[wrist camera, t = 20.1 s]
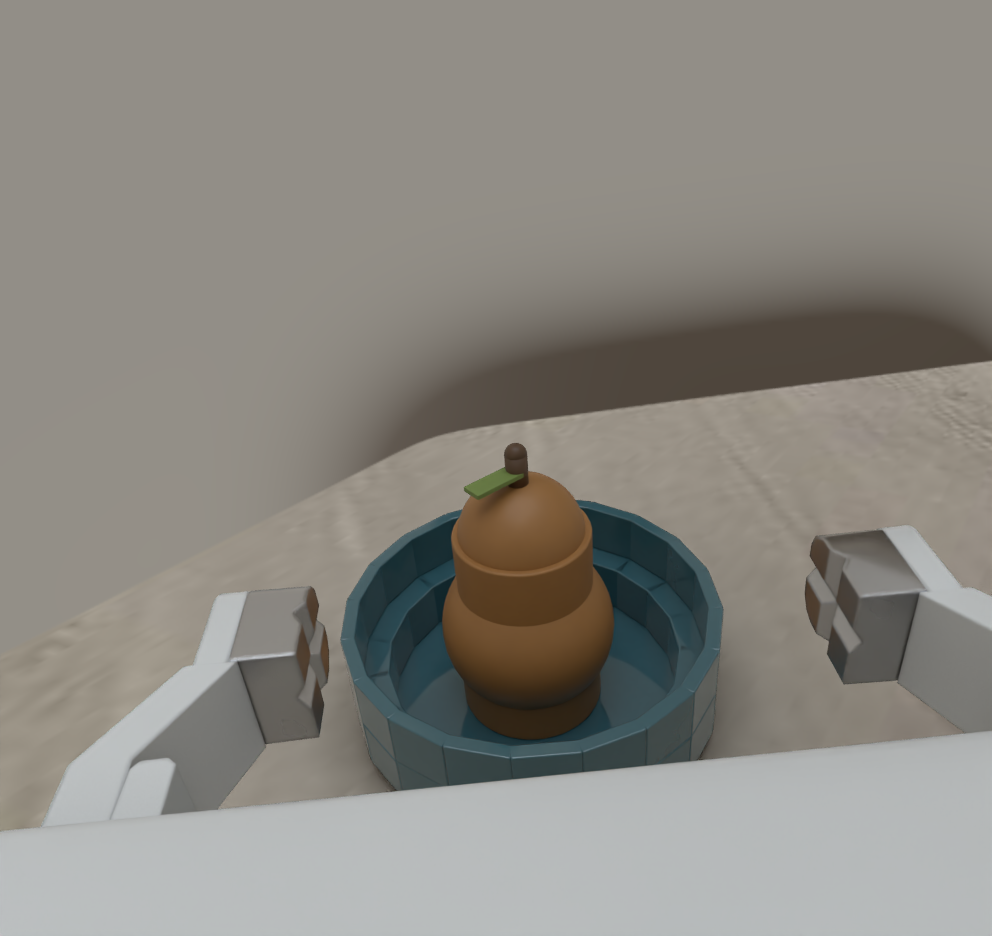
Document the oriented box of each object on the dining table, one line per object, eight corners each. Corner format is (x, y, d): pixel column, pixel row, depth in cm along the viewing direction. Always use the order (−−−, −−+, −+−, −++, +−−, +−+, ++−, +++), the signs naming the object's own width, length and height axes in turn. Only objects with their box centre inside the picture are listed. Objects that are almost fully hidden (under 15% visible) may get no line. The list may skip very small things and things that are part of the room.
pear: (540, 608, 35) (526, 381, 30) (648, 690, 31) (656, 443, 26) (420, 682, 32) (379, 445, 27) (522, 783, 28) (499, 527, 23)
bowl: (550, 544, 40) (546, 462, 37) (789, 703, 31) (804, 608, 28) (301, 685, 33) (276, 598, 31) (511, 938, 24) (500, 842, 22)
